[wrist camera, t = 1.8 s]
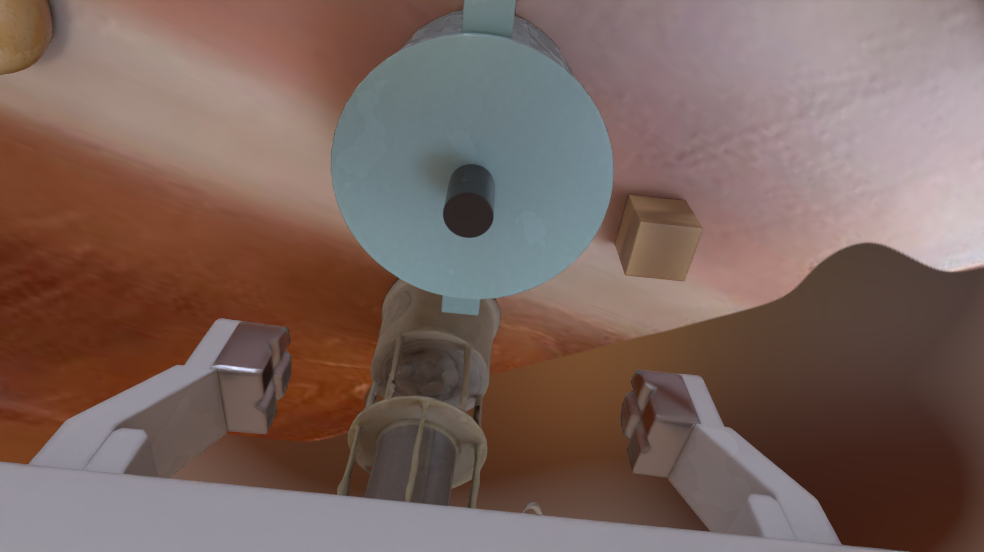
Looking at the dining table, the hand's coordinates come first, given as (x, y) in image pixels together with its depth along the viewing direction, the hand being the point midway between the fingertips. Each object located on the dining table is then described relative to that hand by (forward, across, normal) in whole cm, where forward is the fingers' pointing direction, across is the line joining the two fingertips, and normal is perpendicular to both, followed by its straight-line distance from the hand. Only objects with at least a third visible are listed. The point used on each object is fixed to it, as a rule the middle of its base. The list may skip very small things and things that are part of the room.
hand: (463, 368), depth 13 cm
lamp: (+30, 0, +21) cm, 36 cm away
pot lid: (+18, 0, +3) cm, 18 cm away
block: (+29, -14, +9) cm, 34 cm away
